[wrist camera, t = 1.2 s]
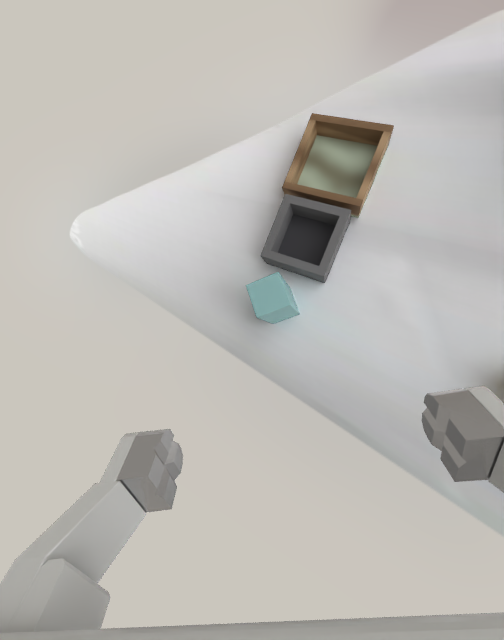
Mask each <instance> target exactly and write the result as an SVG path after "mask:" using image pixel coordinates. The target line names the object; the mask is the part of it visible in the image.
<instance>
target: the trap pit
mask: <svg viewBox="0 0 504 640" xmlns="http://www.w3.org/2000/svg"><path fill="white" fill-rule="evenodd" d="M350 216H351V210H349V209H345V208H341V207H337V206H333V205H329V204H325V203H321V202H317V201H313V200H309V199H305V198H301V197H297V196H293V195H289V194H285V196H284V199H283V201H282V204H281V206H280V209H279V211H278V214H277V216H276V219H275V221H274V224H273V226H272V228H271V231H270V233H269V236H268V238H267V241H266V243H265V246H264V248H263V251H262V253H261V257H262V258H263V259H264V261H265V262H266V263H267V264H270V265H273V266H276V267H279V268H282V269H285V270H288V271H291V272H294V273H297V274H300V275H303V276H306V277H309V278H312V279H315V280H318V281H321V282H324V283H325V281H326V279H327V276H328V274H329V271H330V269H331V267H332V264H333V262H334V259H335V257H336V254H337V252H338V249H339V247H340V245H341V242H342V240H343V237H344V235H345V232H346V230H347V228H348V225H349V223H350Z"/></svg>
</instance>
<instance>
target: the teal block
mask: <svg viewBox="0 0 504 640" xmlns="http://www.w3.org/2000/svg"><path fill="white" fill-rule="evenodd" d="M246 287H247V290H248V293H249V296H250V299H251V302H252V305H253V308H254V311H255V314H256V317H257V318H259V319H261V320H264V321H267V322H269V323H272V324H275V323H277V322H280V321H283V320H285V319H288V318H291V317H293V316H296V315H299V314H300V313H299V311H298V308H297V305H296V302H295V300H294V297H293V294H292V292H291V289H290V287H289V286H288V284H287V283H286V282H285V280H284V279H283V278H282V276H281V275H280V273H279V272H276V273H274V274H272V275H269V276H267V277H264V278H262V279H260V280H257V281H255V282H252V283H250V284H248V285H246Z"/></svg>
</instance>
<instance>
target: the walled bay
mask: <svg viewBox="0 0 504 640" xmlns="http://www.w3.org/2000/svg"><path fill="white" fill-rule="evenodd" d="M393 127H394V126H393V125H386V124H380V123H373V122H366V121H360V120H353V119H346V118H340V117H333V116H326V115H320V114H313V113H312V115H311V117H310V120H309V122H308V125H307V127H306V130H305V132H304V135H303V137H302V140H301V142H300V145H299V147H298V149H297V152H296V154H295V157H294V159H293V162H292V164H291V167H290V169H289V172H288V174H287V177H286V179H285V182H284V184H283V187H282V188H283V192H284V195H285V194H289V195H293V196H297V197H301V198H305V199H309V200H313V201H317V202H321V203H325V204H329V205H333V206H337V207H341V208H345V209H349V210H351V216H353V217H357V218H358V217H359V215H360V213H361V210H362V208H363V205H364V203H365V200H366V198H367V196H368V193H369V191H370V188H371V186H372V184H373V181H374V179H375V176H376V174H377V171H378V169H379V167H380V164H381V162H382V159H383V157H384V154H385V152H386V150H387V147H388V145H389V141H390V138H391V134H392V131H393Z"/></svg>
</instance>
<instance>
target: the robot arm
mask: <svg viewBox="0 0 504 640" xmlns="http://www.w3.org/2000/svg"><path fill="white" fill-rule="evenodd" d="M424 403H425V405H426V406H427V409H426V410H425V411H424V412H423V413H422V423H423V428H424V431H425V433H426V435H427V437H428V439H429V441H430V443H431V444H432V445H433V446H435V447H436V448H438V449H439V450H441V451H442V452H441V461H442V462H443V464H444V465H445V467H446V469H447V470H448V472H449V473H450V475H451V477H452V478H453V480H454V481H455V482H460V481H475V480H489V482H490V483H492V484H493V485H494V486H496V487H497V488H498V489H500V490H501V491H502V492H504V403H503V402H502V401H501V400H500V399H499V398H498V397H497V396H496V395H495V394H494V393H492V392H491V391H490V390H489V389H488V388H486V387H484V386H479V387H472V388H464V389H455V390H448V391H441V392H435V393H428V394H427V395H426V396H425V399H424ZM173 437H174V435H173V433H172V431H171V430H170V429H165V430H156V431H146V432H138V433H130V434H125V435H124V436H123V437H122V438H121V440H120V442H119V444H118V446H117V448H116V450H115V452H114V454H113V456H112V458H111V461H110V463H109V465H108V467H107V469H106V470H105V472H104V475H103V477H102V479H101V481H100V483H95V484H94V485H93V486H92V487H91V488H90V489H89V490H88V491H87V492H86V493H85V494H84V495H83V496H81V497H80V499H78V500H77V501H76V502H75V503H74V504H73V505H72V506H71V507H70V508H69V509H68V510H67V511H66V512H65V513H64V514H63V515H62V516H61V517H60V518H58V519H57V520H56V521H55V522H54V523H53V524H52V525H51V526H50V527H49V528H48V529H47V530H46V531H45V532H44V533H43V534H42V535H41V536H40V537H39V538H37V539H36V540H35V541H34V542H33V543H32V544H31V545H30V546H29V547H28V548H27V549H26V550H25V551H24V552H23V553H22V554H21V555H20V556H19V557H18V558H17V559H15V561H14V562H13V564H12V566H11V567H10V569H9V570H8V572H7V574H6V575H5V577H4V579H3V580H2V582H1V584H0V640H504V613H481V614H459V615H458V614H457V615H432V616H408V617H384V618H383V617H382V618H359V619H335V620H334V619H333V620H310V621H284V622H259V623H235V624H211V625H186V626H163V627H138V628H111V629H100V628H101V625H102V622H103V619H104V616H105V613H106V610H107V607H108V604H109V600H110V595H109V593H108V591H106V590H105V589H103V588H102V587H101V586H99V585H98V584H97V583H98V582H99V580H100V579H101V578H102V576H103V575H104V573H105V572H106V571H107V569H108V568H109V566H110V565H111V563H112V562H113V561H114V559H115V558H116V556H117V555H118V554H119V552H120V551H121V549H122V548H123V547H124V545H125V544H126V542H127V541H128V539H129V538H130V537H131V535H132V534H133V532H134V531H135V530H136V528H137V527H138V525H139V524H140V522H141V521H142V520H143V518H144V517H145V515H146V512H152V511H161V510H168V509H172V505H173V501H174V497H175V493H176V489H177V486H176V483H175V481H174V480H175V479H176V478H177V477H178V475H179V474H180V473H181V468H182V460H183V454H182V450H181V447H180V445H179V444H178V443H176V442H175V441H173Z"/></svg>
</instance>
